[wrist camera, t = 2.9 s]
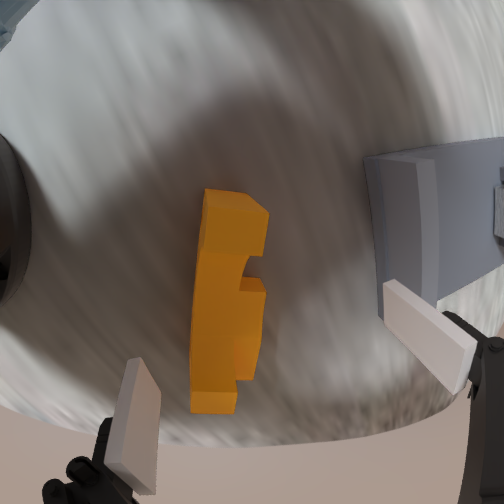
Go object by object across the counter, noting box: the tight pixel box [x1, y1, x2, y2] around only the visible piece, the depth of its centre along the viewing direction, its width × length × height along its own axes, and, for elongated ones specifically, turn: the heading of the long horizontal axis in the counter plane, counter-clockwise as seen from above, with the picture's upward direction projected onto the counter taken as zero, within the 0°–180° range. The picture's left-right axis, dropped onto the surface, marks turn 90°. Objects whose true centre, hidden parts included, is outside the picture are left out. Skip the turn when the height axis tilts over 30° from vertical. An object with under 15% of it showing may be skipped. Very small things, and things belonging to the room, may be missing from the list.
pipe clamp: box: [189, 188, 270, 414], centre depth 18 cm, size 12×4×6 cm, turn 171°
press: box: [363, 137, 504, 321], centre depth 20 cm, size 22×13×6 cm, turn 104°
